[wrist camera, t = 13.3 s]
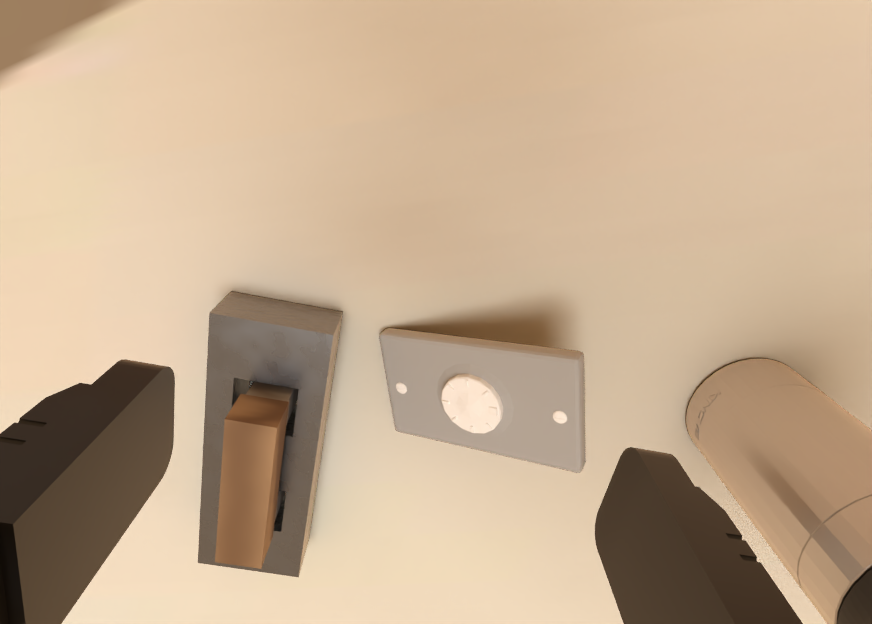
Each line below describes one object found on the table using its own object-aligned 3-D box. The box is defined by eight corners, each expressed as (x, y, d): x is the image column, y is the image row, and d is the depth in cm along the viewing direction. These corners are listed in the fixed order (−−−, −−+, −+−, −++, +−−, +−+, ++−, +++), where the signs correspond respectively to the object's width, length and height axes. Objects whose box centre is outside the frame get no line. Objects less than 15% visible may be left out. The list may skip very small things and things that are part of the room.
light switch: (370, 338, 38) (575, 366, 31) (412, 306, 43) (599, 324, 36) (388, 438, 41) (577, 484, 34) (425, 398, 46) (599, 431, 39)
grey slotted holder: (342, 311, 39) (333, 335, 35) (308, 538, 47) (298, 577, 44) (231, 291, 38) (209, 312, 35) (216, 525, 47) (198, 562, 43)
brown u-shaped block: (305, 366, 41) (277, 427, 33) (289, 490, 45) (261, 568, 38) (262, 358, 40) (224, 419, 33) (250, 484, 45) (214, 562, 38)
